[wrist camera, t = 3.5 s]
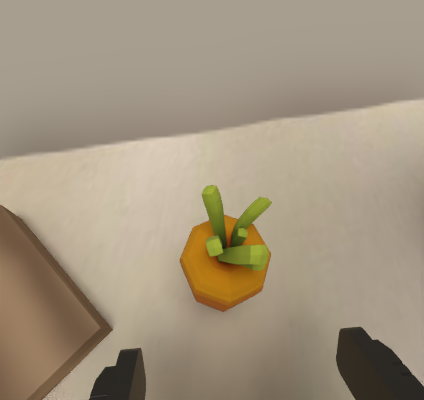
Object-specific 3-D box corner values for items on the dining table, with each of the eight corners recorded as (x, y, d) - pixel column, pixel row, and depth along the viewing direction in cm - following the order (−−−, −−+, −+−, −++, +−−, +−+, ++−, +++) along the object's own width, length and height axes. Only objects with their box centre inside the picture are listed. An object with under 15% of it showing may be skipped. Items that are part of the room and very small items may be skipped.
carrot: (187, 263, 25) (170, 170, 12) (241, 260, 25) (287, 166, 12) (188, 323, 23) (169, 293, 9) (248, 319, 23) (313, 285, 10)
